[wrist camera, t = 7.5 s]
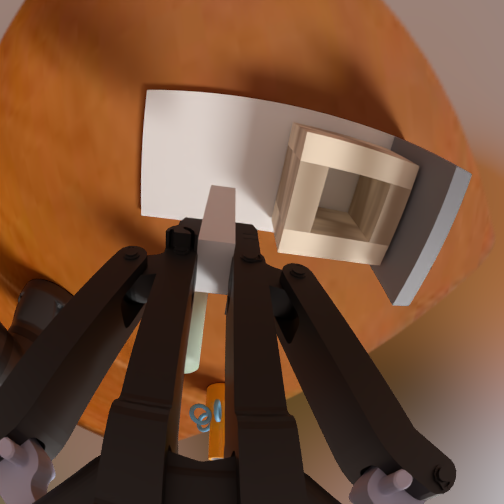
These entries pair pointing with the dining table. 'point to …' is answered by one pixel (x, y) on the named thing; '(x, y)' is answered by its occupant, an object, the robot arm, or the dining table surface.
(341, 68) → the dining table surface
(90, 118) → the dining table surface
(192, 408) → the orange ringed tube
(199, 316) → the dowel
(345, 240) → the block
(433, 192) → the backstop
